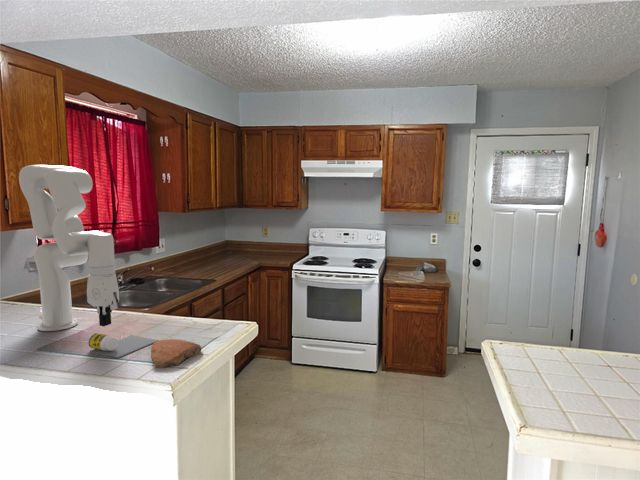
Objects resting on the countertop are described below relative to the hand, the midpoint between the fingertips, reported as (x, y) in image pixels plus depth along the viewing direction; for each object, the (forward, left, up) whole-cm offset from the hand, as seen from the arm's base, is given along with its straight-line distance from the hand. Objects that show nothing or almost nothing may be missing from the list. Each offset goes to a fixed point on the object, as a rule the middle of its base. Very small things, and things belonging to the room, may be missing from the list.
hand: (105, 324), depth 139 cm
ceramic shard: (+29, -2, -7) cm, 29 cm away
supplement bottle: (+1, -6, -3) cm, 7 cm away
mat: (+9, 0, -6) cm, 11 cm away
